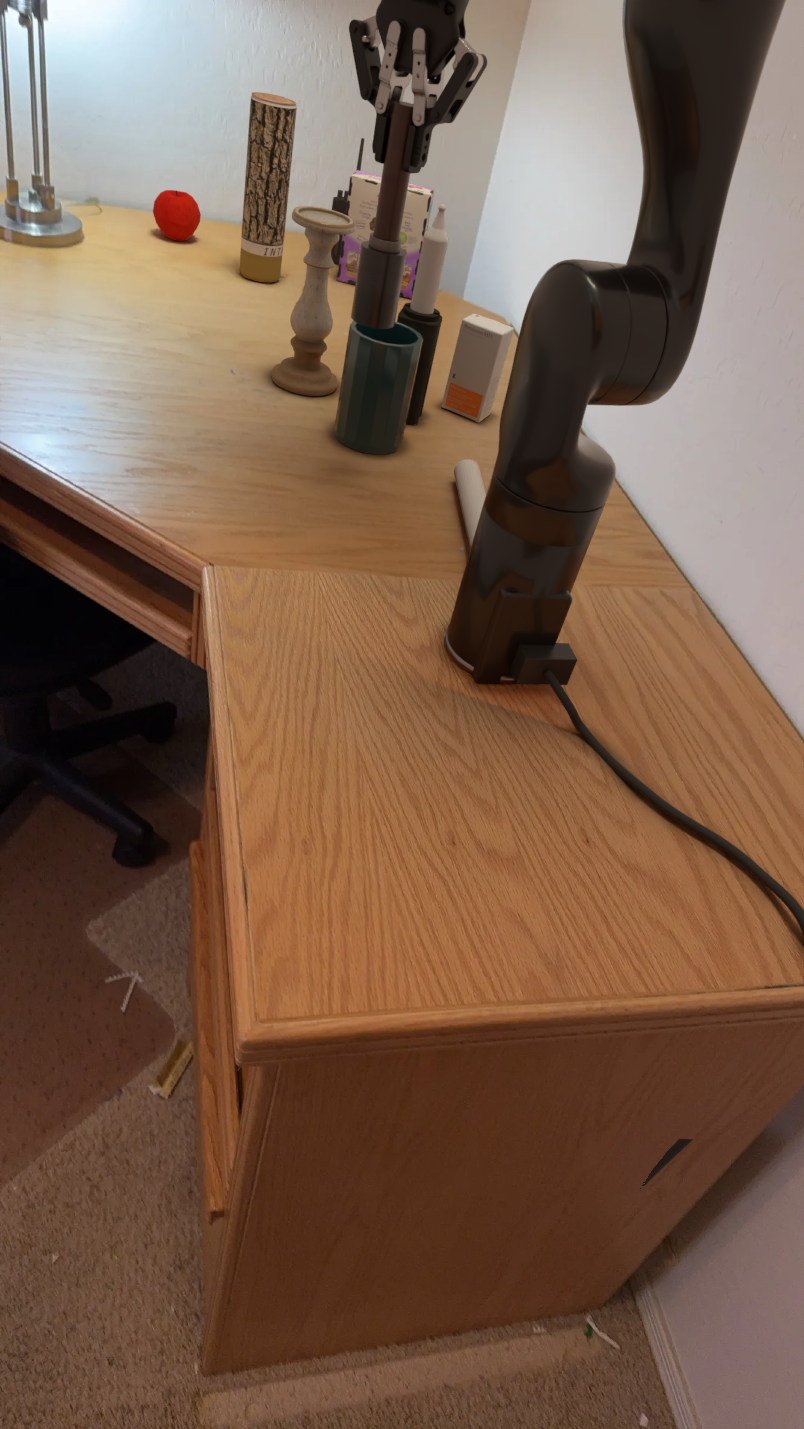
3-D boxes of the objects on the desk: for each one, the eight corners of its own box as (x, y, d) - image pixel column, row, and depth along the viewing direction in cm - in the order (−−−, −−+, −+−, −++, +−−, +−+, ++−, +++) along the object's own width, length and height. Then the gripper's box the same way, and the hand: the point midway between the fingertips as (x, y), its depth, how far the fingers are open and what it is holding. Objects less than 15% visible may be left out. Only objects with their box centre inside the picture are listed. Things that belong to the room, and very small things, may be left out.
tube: (505, 606, 87) (475, 484, 105) (514, 580, 84) (482, 460, 103) (476, 602, 86) (451, 480, 104) (484, 576, 84) (457, 456, 102)
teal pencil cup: (407, 457, 107) (430, 350, 98) (340, 451, 104) (357, 341, 96) (393, 426, 113) (414, 322, 104) (329, 419, 110) (345, 313, 102)
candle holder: (260, 383, 115) (275, 211, 101) (286, 363, 121) (304, 199, 108) (322, 403, 114) (346, 232, 100) (345, 382, 120) (370, 219, 107)
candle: (415, 426, 114) (461, 214, 98) (378, 416, 114) (417, 202, 98) (422, 412, 118) (467, 205, 101) (386, 402, 118) (425, 194, 102)
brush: (398, 331, 90) (437, 113, 78) (354, 325, 89) (387, 103, 77) (389, 315, 94) (425, 104, 82) (347, 310, 93) (377, 94, 80)
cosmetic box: (439, 407, 120) (460, 318, 112) (452, 399, 123) (473, 311, 115) (479, 424, 119) (503, 334, 111) (491, 415, 122) (515, 327, 114)
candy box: (416, 291, 157) (436, 188, 147) (412, 300, 153) (432, 194, 142) (342, 271, 157) (356, 167, 146) (335, 280, 153) (349, 173, 142)
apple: (185, 230, 157) (186, 183, 153) (208, 245, 154) (210, 198, 149) (144, 230, 153) (144, 182, 148) (167, 245, 149) (168, 197, 144)
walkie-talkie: (354, 265, 162) (373, 139, 149) (344, 267, 160) (362, 139, 146) (333, 256, 163) (350, 131, 150) (323, 258, 161) (339, 131, 148)
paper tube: (232, 275, 144) (243, 93, 128) (249, 266, 149) (262, 90, 133) (270, 287, 143) (286, 105, 127) (286, 277, 149) (303, 102, 132)
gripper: (340, -101, 71) (314, 147, 82) (487, -66, 67) (439, 191, 78) (391, -85, 76) (360, 146, 87) (530, -52, 72) (479, 186, 83)
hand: (397, 166), depth 82 cm, fingers closed on brush, 2 cm apart
